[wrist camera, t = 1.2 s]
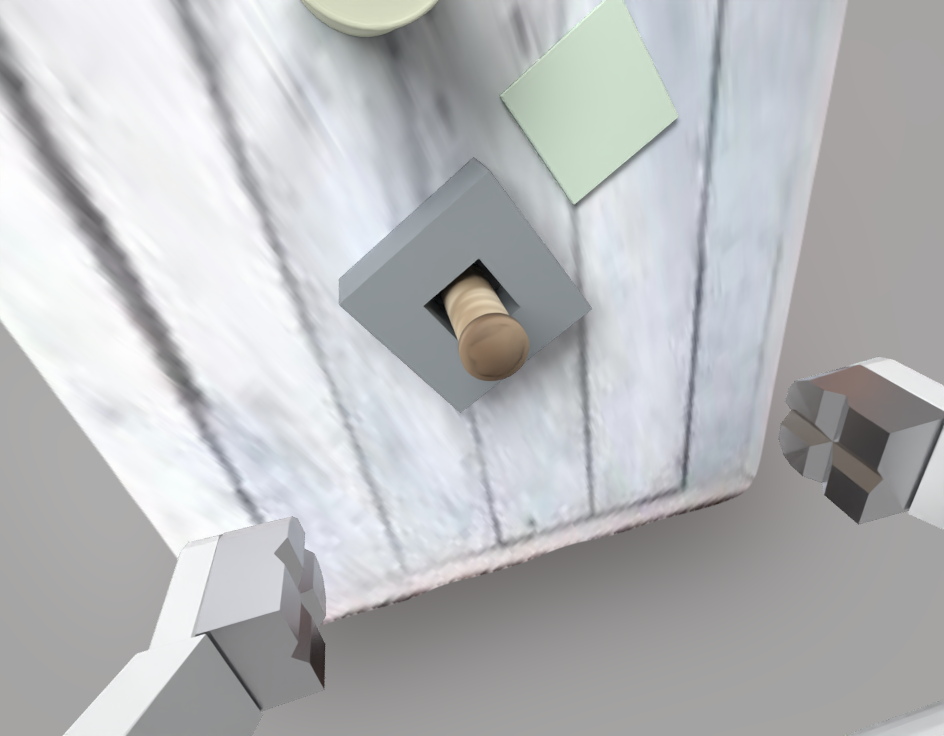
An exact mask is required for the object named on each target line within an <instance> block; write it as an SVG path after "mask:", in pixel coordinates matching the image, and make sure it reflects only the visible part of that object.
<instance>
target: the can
mask: <svg viewBox="0 0 944 736" xmlns="http://www.w3.org/2000/svg"><path fill="white" fill-rule="evenodd" d="M301 1H302V3H303V4H304V5H305V6H306V7H307V8H308V9H309V10H310V12H311V13H313V14H314V15H315V16H316V17H317V18H318V19H319V20H321V21H322V22H323V23H325V24H326V25H328V26H330V27H331V28H333V29H335V30H337V31H340V32H342V33H345V34H348V35H353V36H359V37H373V36H379V35H383V34H386V33H388V32H391V31H393V30H395V29H397V28H400V27H402V26H405V25H408V24H410V23H412V22H413V21H415V20H417V19H419V18H420V17H422V16H423V15H425V14H426V13H427V12H428V11H429V10H431V9H432V8H433V7H434V6H435V5H436V4H437V2H438V1H439V0H301Z"/></svg>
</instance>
